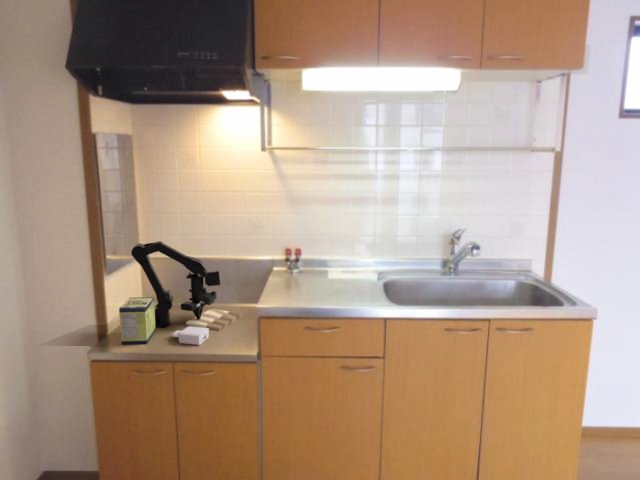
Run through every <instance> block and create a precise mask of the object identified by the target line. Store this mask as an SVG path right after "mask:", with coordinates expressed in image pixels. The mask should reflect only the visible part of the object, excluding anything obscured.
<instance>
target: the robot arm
mask: <svg viewBox="0 0 640 480" xmlns="http://www.w3.org/2000/svg"><path fill="white" fill-rule="evenodd" d="M132 247H133V248H132V249H131V252H130V253H131V256H132V258H133V259H134V260H135V262H136V263H138V264H139V265H140V266H141V269H142V270H143V271H144V274H145V276H146V278H147V279H148V281H149V284H150V286H151V287H152V290H153V291H154V293H155V296H156V301H157V304H156V305H155V306H154V309H155V328H160V329H165V328H167V327H169V326H171V325H173V322H171V318H170V317H171V316H170V314H171V313H170V310H171V309H172V308H173V305H174V304H173V303H174V296H173V295H172V293H171V290H170V289H168V290H166V289H165V287H164V286H163V284H162V282H161V280H160V278H159V276H158V275H157V272H156V270H155V268H154V266H153V265H152V262H151V259H150V255H152V254H153V253H158V252H159V253H161V254H162V255H164V256H167V257H168V258H170V259H172V260H173V261H176V262H177V263H179V264H181V265H182V266H184V268H186V269H187V270H188V271H189V272H188V274H186V276H185V278H186V279H187V280H188V279H190V289H188V292H189V293H190V295H191V297H189V299H188V300H189V301H185V302H183V303H181V304H180V306H179V307H180V310H181V311H186V312H187V311H188V312H193V315H194V316H195V317H196V318H197V319H198V320H199V319H200V318H201V314H202V313H203V311H204V308H205V306H210V305H212V304H215V300H217V298H218V295H217V292H216V291H215V290H213V291H211V292H207V289H206V287H205V286H204V285H206V286H207V287H218V286H219V287H220V286H221V279H220V271H219V270H214V271H208V270H207V269H206V268H205V267H204V264H203V261H202V260H201V259H199V258H197V257H193V256H189V255H186V254H184V253H182V252H180V251H178V250H176V249H175V248H173V247H171V246H170V245H167V244H166V243H164V242H163V241H161V240H159V241H154V242H149V243H148V242H147V243H144V244H143V243H137V244H135V245H134V246H132Z"/></svg>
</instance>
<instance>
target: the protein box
mask: <svg viewBox="0 0 640 480" xmlns="http://www.w3.org/2000/svg"><path fill="white" fill-rule="evenodd" d="M118 311H119V312H118V313H119V326H120V327H119V329H120V342H121V345H147V344H148V343H149V341H150V340H151V338H152V337H153V335H154V334H155V332H156V327H155V298H154V296H152V297H151V296H150V297H149V296H147V297H146V296H145V297H129V298H128V299H127V300H126V301H125V302H124V303H123V304H122V305H121V306H119V308H118Z"/></svg>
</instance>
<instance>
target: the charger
mask: <svg viewBox="0 0 640 480" xmlns="http://www.w3.org/2000/svg"><path fill="white" fill-rule="evenodd" d="M170 335H172V338H176V339H177V338H178V343H179V344H186V345H195V346H196V345H197V346H200V345H202V343H204V342H205V341H206V340H207V339H208V338H209V337H210V329H209V328H201V327H195V326H187V327H185V328H184V329H182V330H175V331H172V332H171V333H170Z"/></svg>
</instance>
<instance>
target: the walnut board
mask: <svg viewBox="0 0 640 480" xmlns="http://www.w3.org/2000/svg"><path fill="white" fill-rule="evenodd" d="M242 317H243V313H239V312H232V311H228V313H227V314H226V315H224V316H222V317H220V318H219V319H217V320H215V321H214V322H212V323H210V324H208V325H207V326H206V328H209V330H213V331H219V332H220V331H222V330H223V329H225V328H226V327H227V326H230V325H231V324H233V323H234V322H235V321H237V320H239V319H240V318H242Z"/></svg>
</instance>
